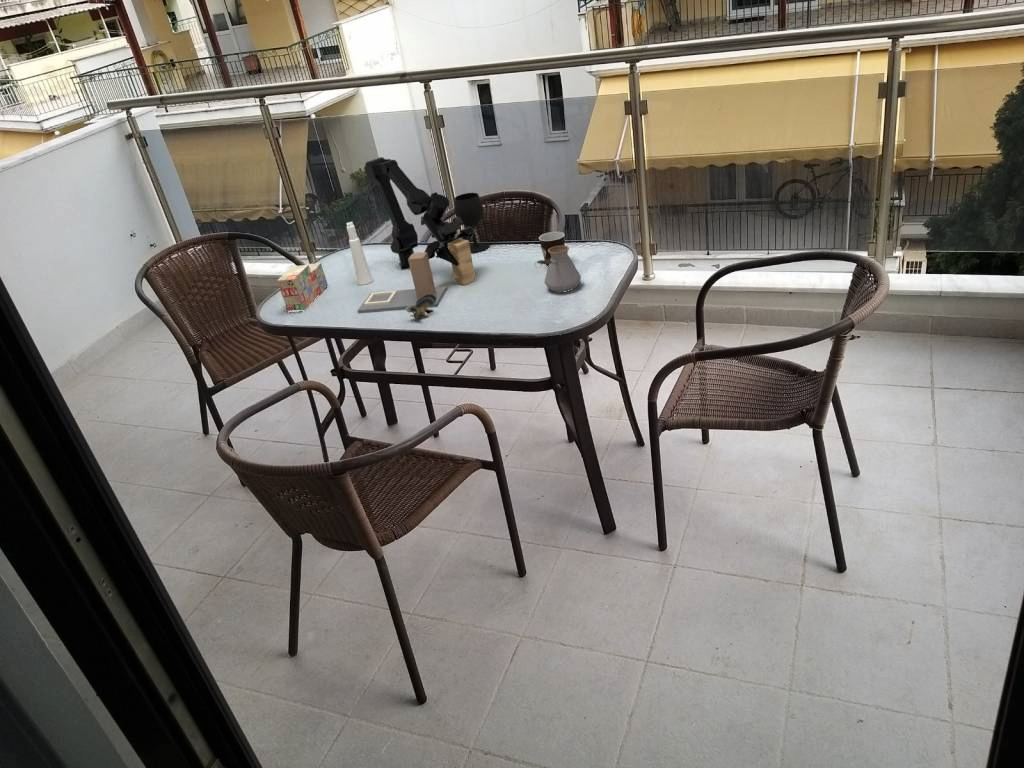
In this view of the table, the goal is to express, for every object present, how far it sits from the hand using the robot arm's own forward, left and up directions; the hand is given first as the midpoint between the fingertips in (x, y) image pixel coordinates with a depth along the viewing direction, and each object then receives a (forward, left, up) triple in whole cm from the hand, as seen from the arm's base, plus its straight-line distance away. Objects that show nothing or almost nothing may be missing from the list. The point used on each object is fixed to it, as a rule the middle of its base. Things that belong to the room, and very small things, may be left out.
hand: (464, 262), depth 254 cm
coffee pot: (+29, +22, -7) cm, 37 cm away
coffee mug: (+3, +30, -7) cm, 31 cm away
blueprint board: (+2, -23, -7) cm, 24 cm away
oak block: (-1, -1, -7) cm, 7 cm away
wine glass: (-31, +10, -7) cm, 34 cm away
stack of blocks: (-22, -53, -7) cm, 58 cm away
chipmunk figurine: (+19, -19, -7) cm, 28 cm away
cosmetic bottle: (-25, -33, -7) cm, 42 cm away
